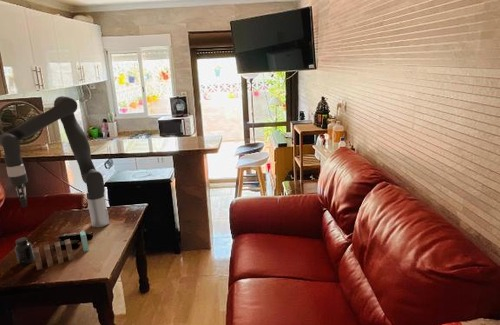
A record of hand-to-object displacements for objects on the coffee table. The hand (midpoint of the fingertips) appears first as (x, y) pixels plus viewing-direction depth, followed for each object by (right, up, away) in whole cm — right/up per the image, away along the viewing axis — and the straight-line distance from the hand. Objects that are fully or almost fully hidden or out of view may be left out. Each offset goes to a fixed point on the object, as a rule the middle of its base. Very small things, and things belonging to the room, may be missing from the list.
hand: (24, 204), depth 182 cm
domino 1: (+14, -28, -11) cm, 33 cm away
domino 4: (+25, -26, -4) cm, 36 cm away
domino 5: (+29, -23, +3) cm, 37 cm away
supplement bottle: (+5, -27, -6) cm, 28 cm away
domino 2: (+18, -27, -9) cm, 34 cm away
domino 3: (+22, -27, -7) cm, 35 cm away
